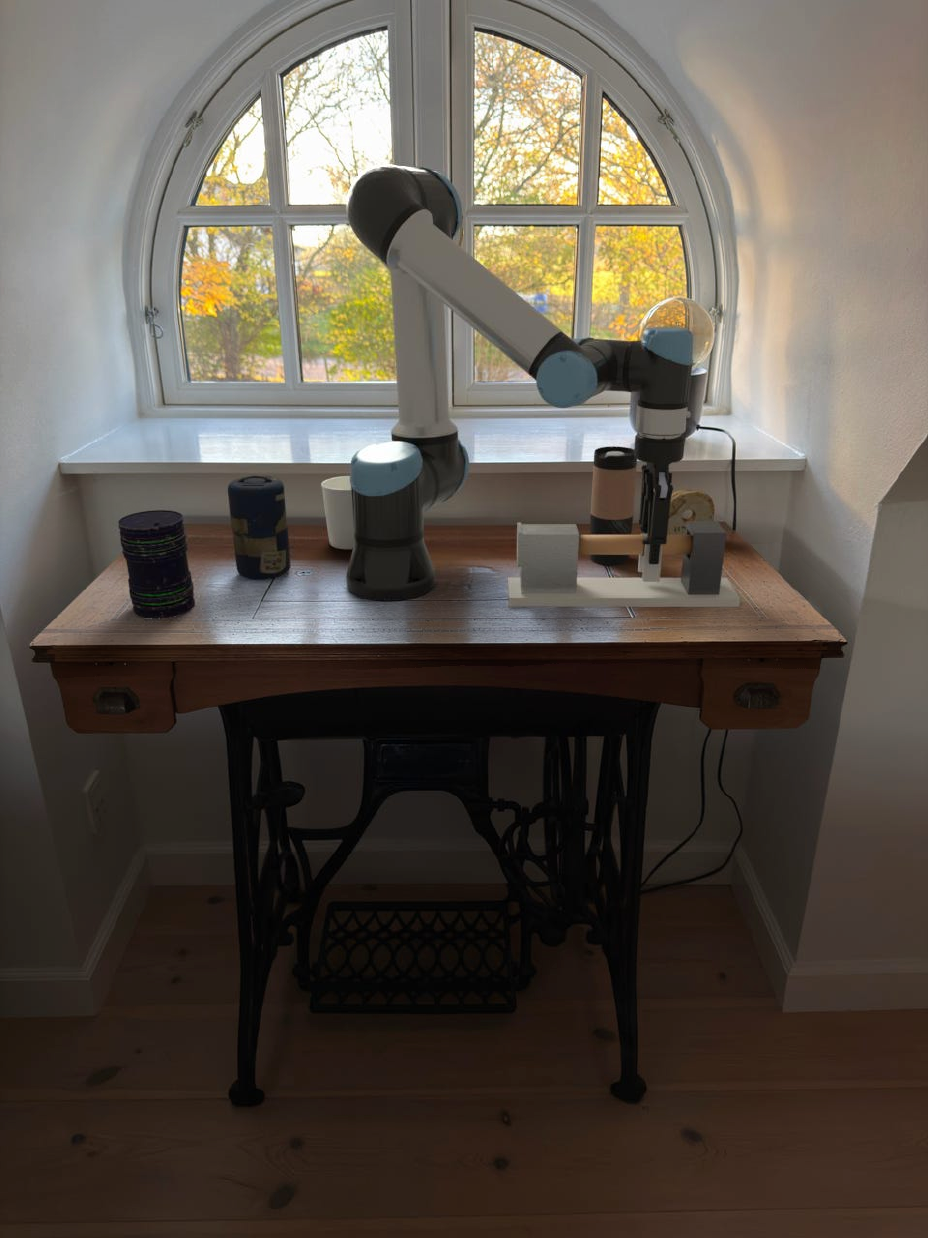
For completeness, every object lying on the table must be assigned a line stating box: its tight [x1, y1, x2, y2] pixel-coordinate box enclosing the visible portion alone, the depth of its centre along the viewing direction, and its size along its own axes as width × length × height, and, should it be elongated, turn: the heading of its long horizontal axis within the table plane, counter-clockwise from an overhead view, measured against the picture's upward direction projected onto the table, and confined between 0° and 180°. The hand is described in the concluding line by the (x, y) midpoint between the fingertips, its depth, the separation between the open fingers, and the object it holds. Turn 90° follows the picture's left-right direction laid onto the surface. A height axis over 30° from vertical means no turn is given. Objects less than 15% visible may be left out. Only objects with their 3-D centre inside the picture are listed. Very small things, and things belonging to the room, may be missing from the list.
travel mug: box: [589, 445, 638, 566], centre depth 160 cm, size 8×8×20 cm
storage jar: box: [117, 509, 196, 620], centre depth 142 cm, size 10×10×15 cm
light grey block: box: [516, 522, 580, 594], centre depth 145 cm, size 10×5×10 cm, turn 89°
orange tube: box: [578, 532, 692, 556], centre depth 144 cm, size 22×4×4 cm, turn 89°
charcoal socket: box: [680, 520, 727, 595], centre depth 144 cm, size 5×6×10 cm
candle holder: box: [320, 475, 355, 550], centre depth 171 cm, size 10×10×12 cm
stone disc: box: [667, 489, 716, 535], centre depth 172 cm, size 10×4×10 cm, turn 97°
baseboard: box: [507, 577, 741, 608], centre depth 147 cm, size 37×9×2 cm, turn 89°
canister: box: [227, 474, 292, 581], centre depth 154 cm, size 10×10×18 cm
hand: (648, 575), depth 146 cm, fingers closed on orange tube, 4 cm apart
